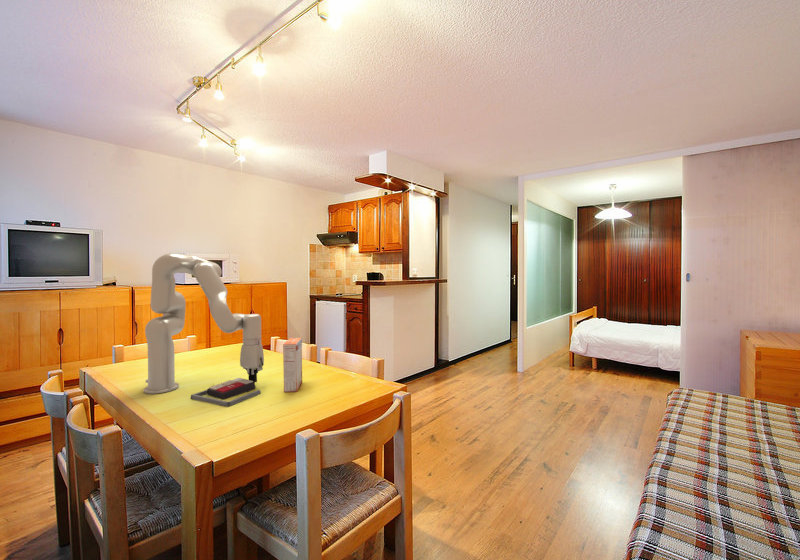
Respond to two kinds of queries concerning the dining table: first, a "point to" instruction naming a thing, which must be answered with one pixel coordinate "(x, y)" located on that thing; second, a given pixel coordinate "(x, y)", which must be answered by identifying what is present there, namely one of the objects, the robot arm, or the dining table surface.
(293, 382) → the cracker box
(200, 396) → the frame
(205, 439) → the dining table surface
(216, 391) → the black flat box
